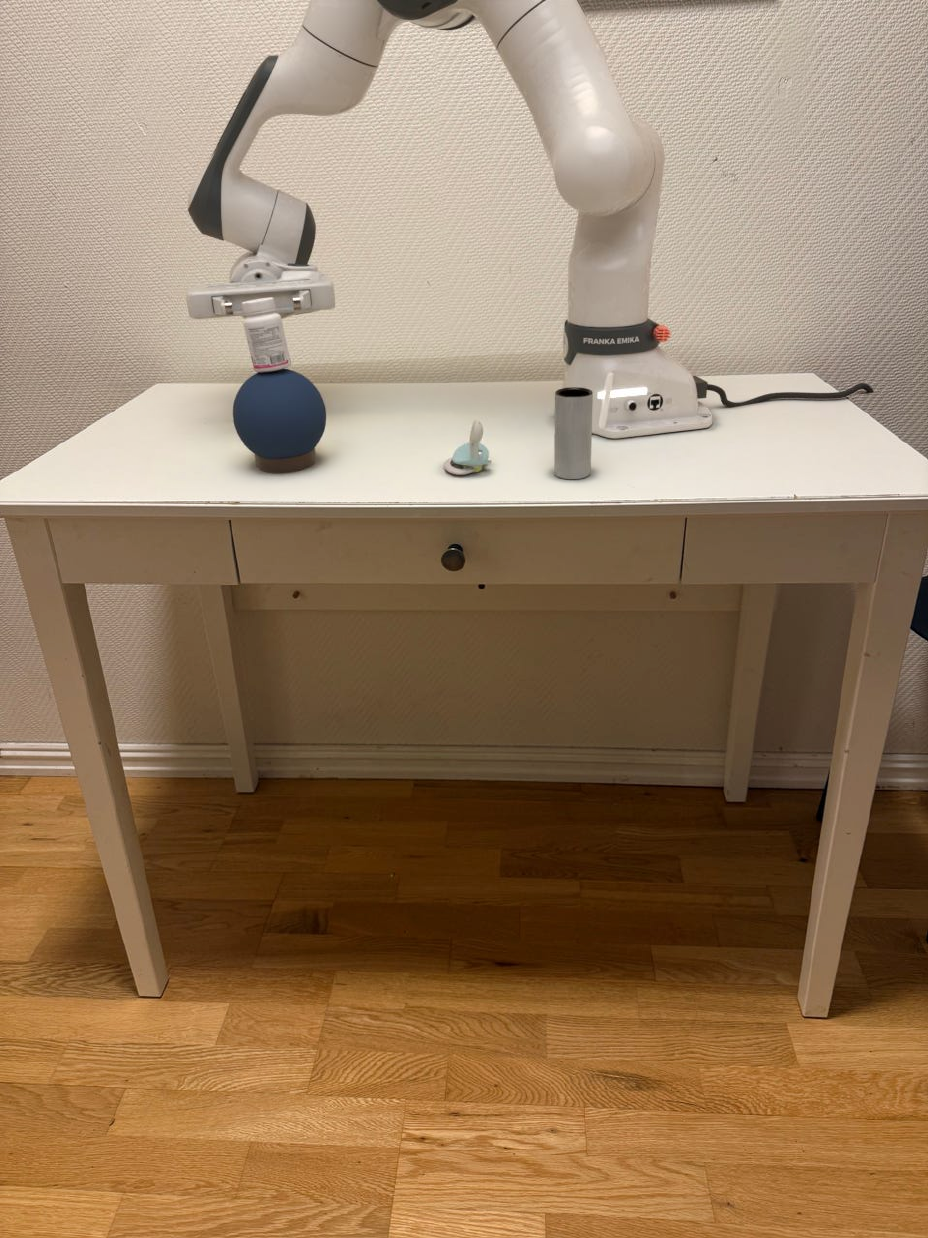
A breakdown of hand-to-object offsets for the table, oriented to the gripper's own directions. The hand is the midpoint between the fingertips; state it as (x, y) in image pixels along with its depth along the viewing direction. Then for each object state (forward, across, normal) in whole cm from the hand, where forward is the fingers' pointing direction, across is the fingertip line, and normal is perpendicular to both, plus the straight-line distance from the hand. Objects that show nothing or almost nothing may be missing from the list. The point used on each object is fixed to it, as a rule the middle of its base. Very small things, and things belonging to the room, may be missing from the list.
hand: (263, 307), depth 121 cm
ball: (+10, 0, +19) cm, 21 cm away
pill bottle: (+9, 0, +6) cm, 11 cm away
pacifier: (+20, +23, +19) cm, 35 cm away
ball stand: (+10, 0, +19) cm, 21 cm away
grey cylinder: (+26, +35, +19) cm, 47 cm away
